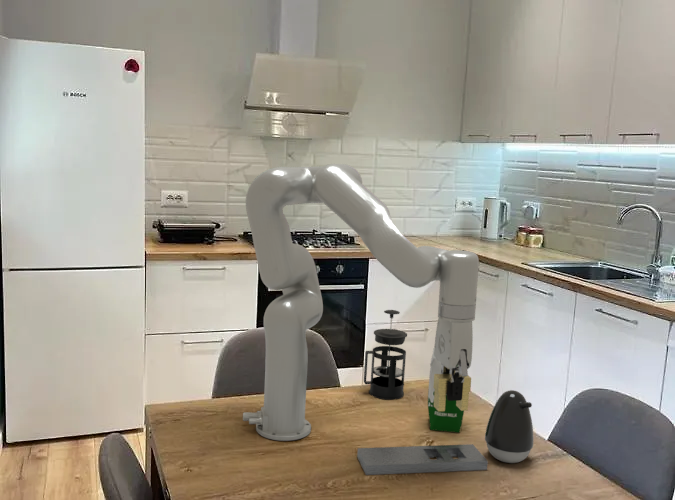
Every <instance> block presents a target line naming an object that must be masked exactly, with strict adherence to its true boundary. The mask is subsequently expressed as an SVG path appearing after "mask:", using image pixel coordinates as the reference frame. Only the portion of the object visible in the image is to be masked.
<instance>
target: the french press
mask: <svg viewBox="0 0 675 500" xmlns="http://www.w3.org/2000/svg"><path fill="white" fill-rule="evenodd" d="M383 313H385V314H388V315H389V318H390V325H389V326H390V327H389V328H380V329H375V330H373V335H374V341H375V342H376V343H378V344H381V345H380V346H375V347H373V348H372V350H366V351H365V354H364V369H363V370H364V371H363V383H364V385H370V388H369V390H368V393H369V395H370V396H372V397H374V398H375V399H376V398H377V399H379V400H386V401H387V400H388V401H392V400H393V401H394V400H399V399H402V398H403V397H404V395H405V393H404V385H405V374H406V373H405V369H406V356H407V351H406V350H405V349H403V348H401V347H398V346H400V345H403V344H404V343H405V340H406V338H407V337H408V333H407V332H405V331H403V330H399V329H394V328H392V326H393V325H392V323H393V319H394V315H400V314H401V313H400V311H399V310H396V309H395V310H394V309H386V310H384V311H383ZM379 352H381V353H379ZM391 352H395V353H399V354H398V355H390V354H391ZM369 354H371V355H372V356H371V370H370V380H369V381H368V380H367V377H368V376H367V373H368V372H367V370H368V358H369V356H368V355H369ZM375 358H376V359H378V360H380V365H378V366H375ZM398 361H402V364H401V365H402V367H401V368H399V367H397V362H398ZM374 375H375V376H374ZM400 377H401V379H400Z"/></svg>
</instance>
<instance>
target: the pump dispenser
mask: <svg viewBox="0 0 675 500" xmlns="http://www.w3.org/2000/svg"><path fill="white" fill-rule="evenodd" d="M532 406H533V403H532V402H529V401H528V402H527V400H526V397H525V396H524V395H523V394H522V393H521V392H520V391H517V390H512V389H510V390H507V391H504V392H503V393H502V394H501V395H500V396H499V397H498V399H497V400H496V402H495V404H494V406H493V408H492V410H491V412H490V414H489V415H490V416H489V418H488V421H487V425H486V429H485V434H484V440H485V442H486V447H487V450H488V451H489V454H490V455H491V456H492V457H494V458H495V459H497V460H499V461H500V462H502V463H506V464H507V463H509V464H516V463H519V462H520V463H521V462H522V461H525V459H527V457H528V456H529V455H530V453H531V450H532V449H533V447H534V424H533V421H532V415H531V410H530V408H532Z"/></svg>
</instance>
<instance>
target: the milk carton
mask: <svg viewBox="0 0 675 500" xmlns="http://www.w3.org/2000/svg"><path fill="white" fill-rule="evenodd" d="M429 365H430V369H429V379H428V380H429V381H428V391H427V413H428V420H429V429H430V431H438V432H439V431H440V432H448V433H450V432H451V433H461V429H462V424H463V419H464V415H465V414H464V413H465V411H461V410H460V409H459V408H458V407H457V406H456V401H448V400H447V394H446V402H445V411H439V412H438V410H437V409H436V408H435V407H434V392H435V389H434V388H433V386H434V374H441V366H442V364H441V363H440V362H439V361H438V360H437V359H436V358H435V356H434V348H433V351H432V355H431V359H430V363H429ZM456 367H459V365H456ZM456 372H458V371H455V373H456Z"/></svg>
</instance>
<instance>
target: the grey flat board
mask: <svg viewBox="0 0 675 500" xmlns="http://www.w3.org/2000/svg"><path fill="white" fill-rule="evenodd" d="M356 456H357V457H356V458H357V459H358V462H359V464H360V466H361V468H362V469H363V472H364V475H365V476H372V475H373V476H376V475H394V474H395V475H398V474H420V473H421V474H423V473H425V474H426V473H438V472H439V473H445V472H464V471H465V472H469V471H472V472H473V471H487V470H488V463H489V462H488V461H489V460H488V459H487V458H486V457H485V456H484V455H483V454H482V452H481V451H480V450H479V449H478V448H477V447H476V446H475V445H474V444H471V443H470V444H469V443H468V444H447V445H446V444H444V445H443V444H442V445H418V446H417V445H416V446H415V445H413V446H409V445H408V446H390V447H389V446H388V447H387V446H384V447H381V446H379V447H357V454H356ZM454 457H457V458H454ZM431 458H433V459H431ZM435 458H436V459H435Z"/></svg>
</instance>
